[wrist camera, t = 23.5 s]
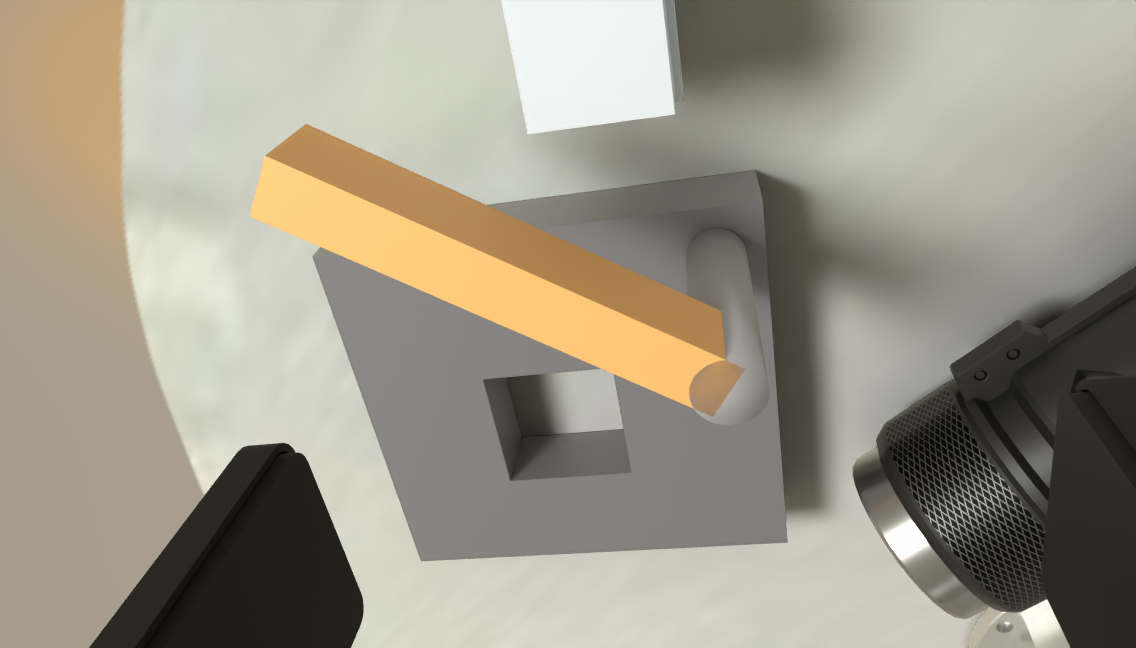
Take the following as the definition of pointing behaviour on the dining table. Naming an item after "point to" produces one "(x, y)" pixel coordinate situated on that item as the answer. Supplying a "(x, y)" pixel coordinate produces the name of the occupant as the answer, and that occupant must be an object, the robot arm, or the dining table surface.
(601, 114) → the plug
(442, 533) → the socket block
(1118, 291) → the muzzle brake
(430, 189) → the try square
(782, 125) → the dining table surface
